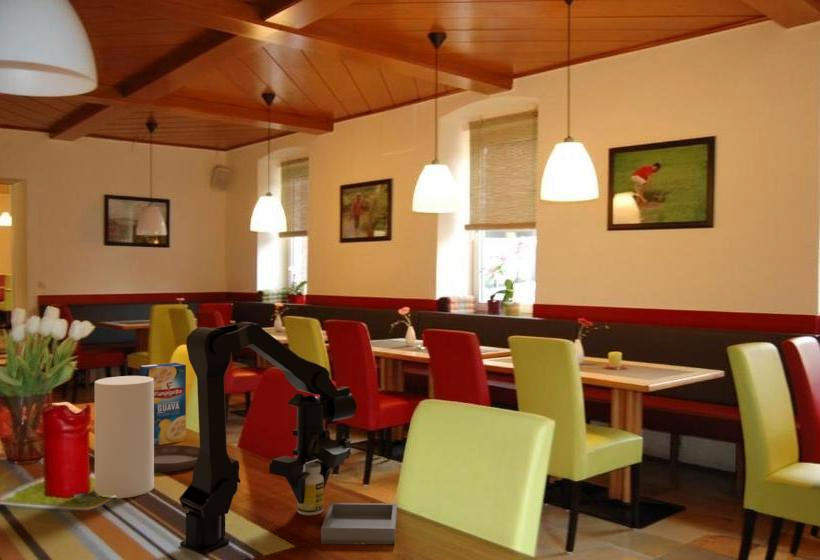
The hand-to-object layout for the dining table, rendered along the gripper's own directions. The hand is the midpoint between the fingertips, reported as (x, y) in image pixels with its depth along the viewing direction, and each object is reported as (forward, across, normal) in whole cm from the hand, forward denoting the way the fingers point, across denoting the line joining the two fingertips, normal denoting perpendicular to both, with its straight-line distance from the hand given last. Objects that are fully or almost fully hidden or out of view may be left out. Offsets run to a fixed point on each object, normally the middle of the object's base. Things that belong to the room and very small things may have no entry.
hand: (310, 499), depth 147 cm
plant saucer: (+3, +5, +53) cm, 53 cm away
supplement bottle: (+3, 0, 0) cm, 3 cm away
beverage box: (+3, +18, +74) cm, 76 cm away
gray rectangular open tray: (+2, -2, -15) cm, 15 cm away
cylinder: (+3, -14, +44) cm, 46 cm away
